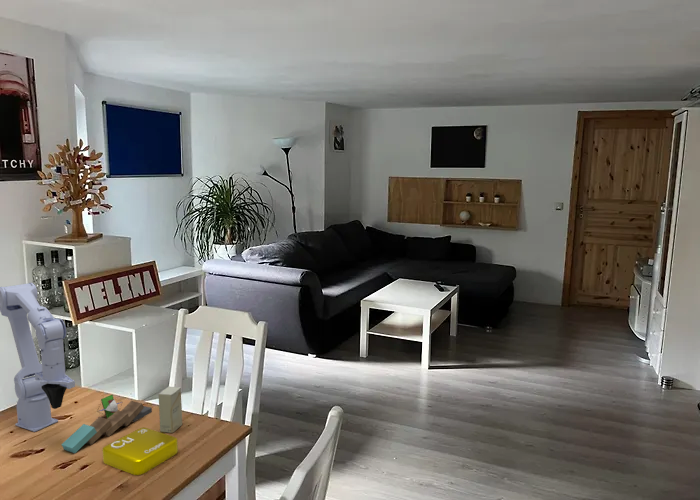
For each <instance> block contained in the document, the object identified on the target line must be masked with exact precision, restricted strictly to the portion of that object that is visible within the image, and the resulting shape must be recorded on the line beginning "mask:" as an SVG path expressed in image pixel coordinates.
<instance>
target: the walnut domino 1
mask: <svg viewBox="0 0 700 500" xmlns="http://www.w3.org/2000/svg"><path fill="white" fill-rule="evenodd" d="M89 426H92V427H94V428H95V430H96V432H97V433H96V434H95V435H94V436H93V437H92V438H90V439H89V440H88V441H87V442H86V443H85V444H88V445H91V446H92V445H93V444H94V443H95V442H96V441H97V440H98V439H99V438H100V437H101V436H103V433H104V432H105V431H106V430H107V429H108V428H110V427H111V426H112V423H111V421H110V420H108V419H107V418H105V417H103V416H102V417H101V416H98V418H96V419H95V420H94V421H93V422H92V423H91V424H90V425H89Z"/></svg>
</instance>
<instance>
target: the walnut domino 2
mask: <svg viewBox="0 0 700 500" xmlns="http://www.w3.org/2000/svg"><path fill="white" fill-rule="evenodd" d="M108 420H110V421H111V423H112V426H111V427H110V428H108V429H107V430H106V431H105V432H104V433H103V434H102V436H106V437H108V438H109V437H110V436H111V435H112V434H114V433H115V432H116V431H117V430H118V429H119V428H120V427H123V426H122V425H123V424H124V423H125V422H126V421H127V420H129V416H128V414H127V413H124V412H122V410H120V409H118V410H117V411H116V412H115V413H114V414H113V415H111V416H110V417H109V418H108Z"/></svg>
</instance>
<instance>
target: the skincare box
mask: <svg viewBox="0 0 700 500" xmlns="http://www.w3.org/2000/svg"><path fill="white" fill-rule="evenodd" d="M157 395H158V411H159V413H158V414H159V432H161V433H171V434H173V433H174V432H176V430H178V429H180V427H182V425H183V409H182V408H183V406H182V387H179V386H178V387H177V386H170V385H169V386H167V387H165V388H164V389H162V390H161V391H160V392H159V393H158V394H157Z"/></svg>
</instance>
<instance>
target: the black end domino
mask: <svg viewBox="0 0 700 500" xmlns="http://www.w3.org/2000/svg"><path fill="white" fill-rule="evenodd" d="M143 407H144V409H143V410H142V411H141V412H140V413H139V414H138V415H137V416H136V417H135V418H134V419H133V420H132V421H131V422H130V423H135V422H137V421H139V420H140V419H142V418H144V417H146V416H147V415H149V414H150V413H152V412H153V409H152V407H150V406H146V405H143Z"/></svg>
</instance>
